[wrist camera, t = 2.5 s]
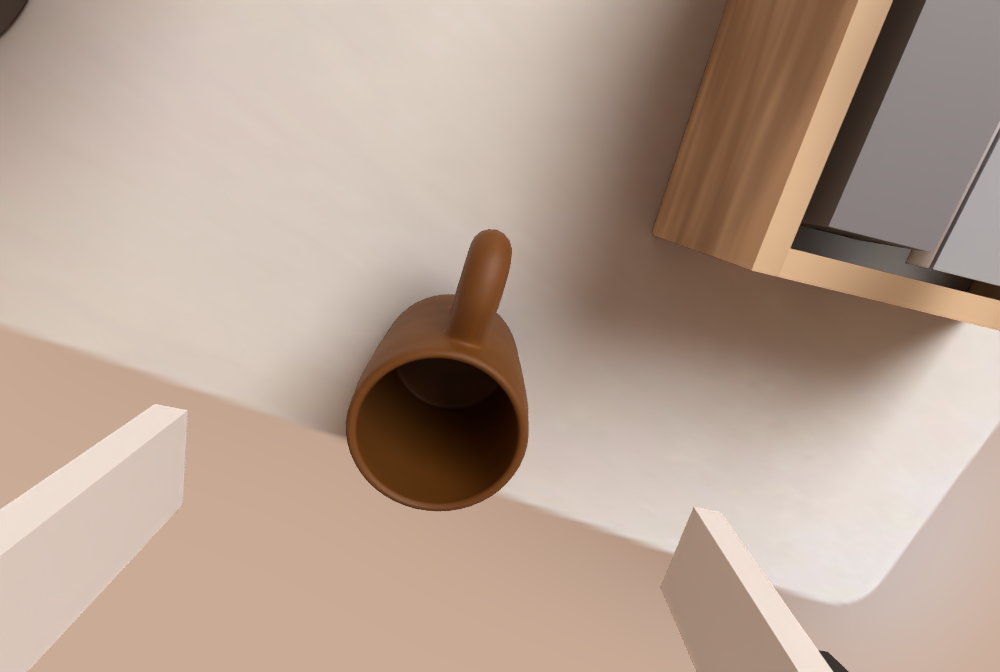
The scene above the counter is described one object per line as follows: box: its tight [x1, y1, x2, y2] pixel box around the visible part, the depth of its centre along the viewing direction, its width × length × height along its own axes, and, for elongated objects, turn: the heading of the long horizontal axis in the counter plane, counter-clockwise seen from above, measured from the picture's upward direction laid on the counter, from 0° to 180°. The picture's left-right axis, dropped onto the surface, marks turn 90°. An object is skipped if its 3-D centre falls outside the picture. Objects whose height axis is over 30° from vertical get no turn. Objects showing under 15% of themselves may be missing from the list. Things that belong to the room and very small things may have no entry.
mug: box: [346, 229, 528, 511], centre depth 23 cm, size 12×8×9 cm, turn 163°
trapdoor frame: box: [652, 0, 1000, 331], centre depth 20 cm, size 20×18×10 cm
